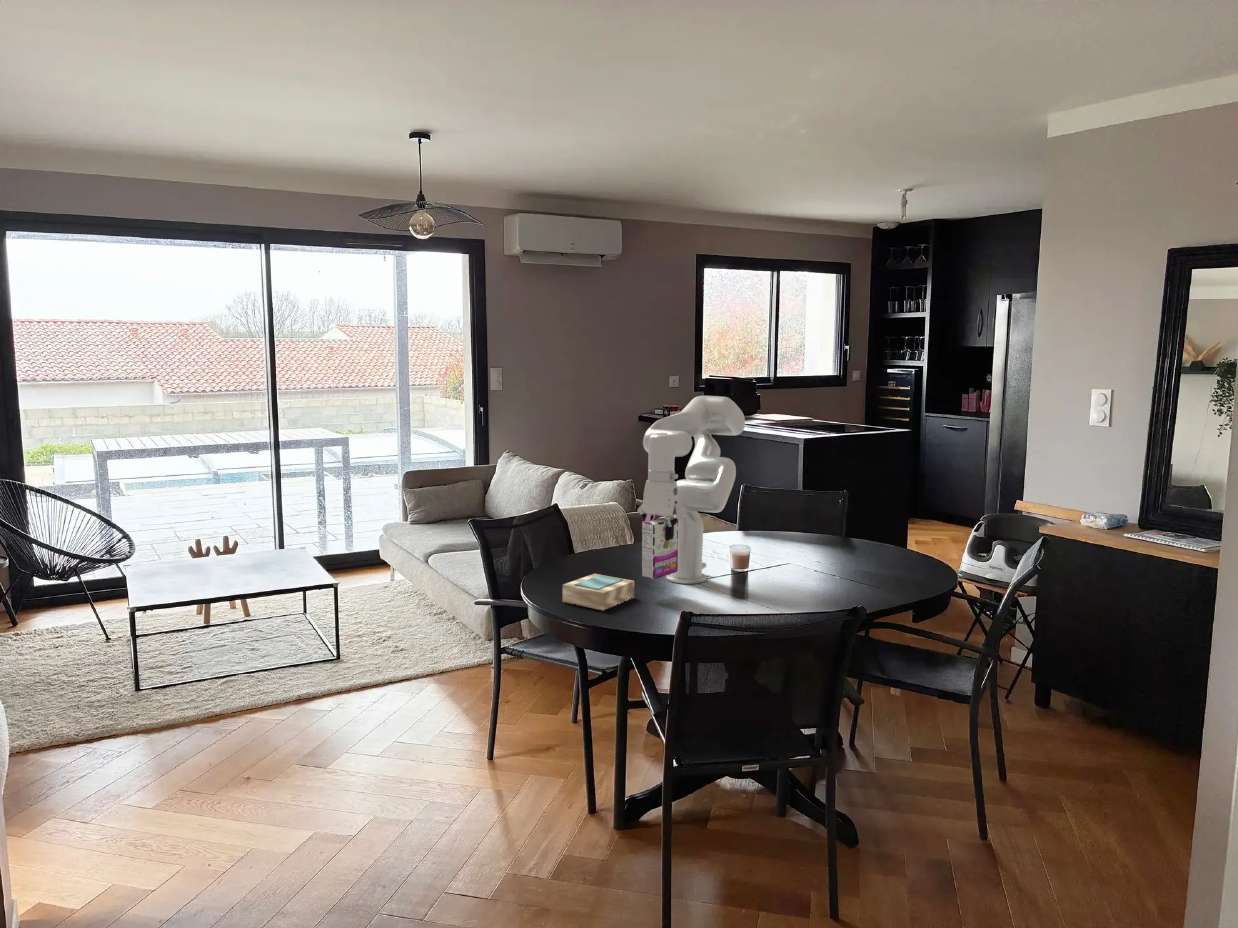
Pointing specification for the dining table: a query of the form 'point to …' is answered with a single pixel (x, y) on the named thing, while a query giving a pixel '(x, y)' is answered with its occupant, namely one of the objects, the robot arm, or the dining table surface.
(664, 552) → the candy bar box
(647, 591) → the dining table surface
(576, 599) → the wooden brick
